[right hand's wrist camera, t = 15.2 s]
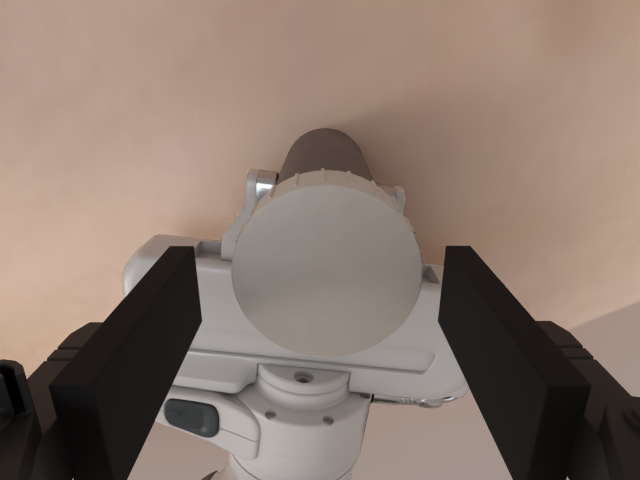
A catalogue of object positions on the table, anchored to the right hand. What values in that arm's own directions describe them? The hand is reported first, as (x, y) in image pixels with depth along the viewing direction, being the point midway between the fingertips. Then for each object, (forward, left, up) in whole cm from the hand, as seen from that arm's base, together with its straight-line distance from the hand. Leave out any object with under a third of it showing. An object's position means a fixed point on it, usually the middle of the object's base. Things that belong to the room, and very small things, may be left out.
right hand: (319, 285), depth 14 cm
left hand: (0, -1, -9) cm, 10 cm away
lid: (0, 0, 0) cm, 0 cm away
